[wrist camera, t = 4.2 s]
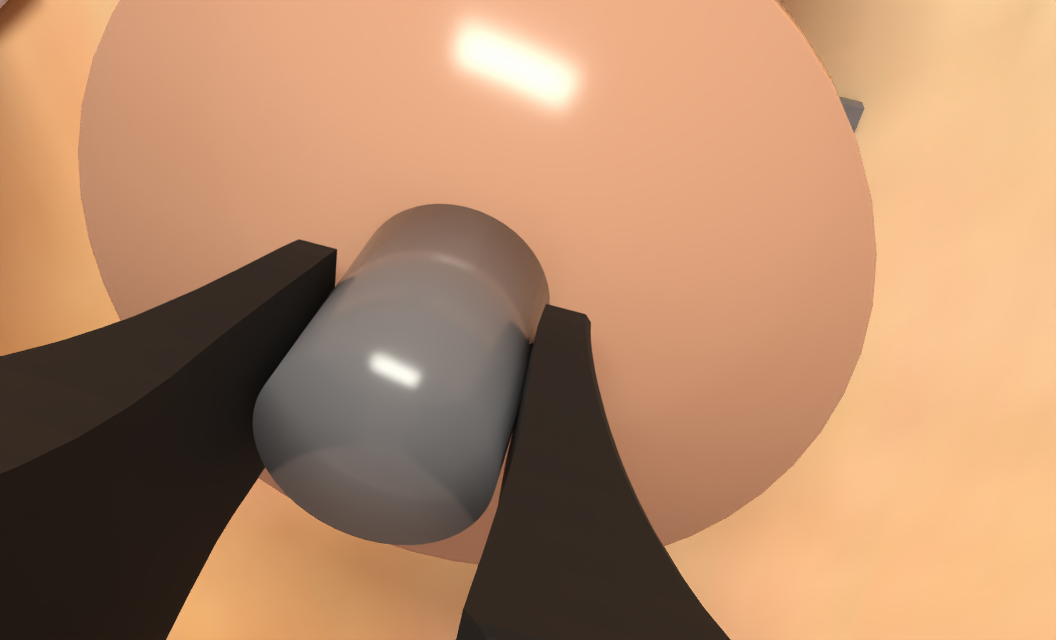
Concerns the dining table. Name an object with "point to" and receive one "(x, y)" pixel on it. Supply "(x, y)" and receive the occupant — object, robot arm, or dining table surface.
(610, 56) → the lid
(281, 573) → the dining table surface
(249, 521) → the dining table surface
